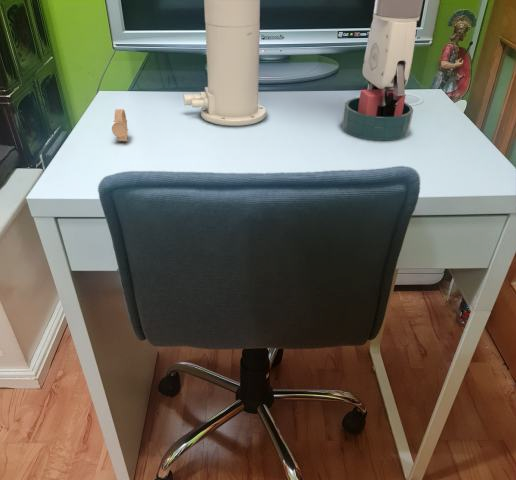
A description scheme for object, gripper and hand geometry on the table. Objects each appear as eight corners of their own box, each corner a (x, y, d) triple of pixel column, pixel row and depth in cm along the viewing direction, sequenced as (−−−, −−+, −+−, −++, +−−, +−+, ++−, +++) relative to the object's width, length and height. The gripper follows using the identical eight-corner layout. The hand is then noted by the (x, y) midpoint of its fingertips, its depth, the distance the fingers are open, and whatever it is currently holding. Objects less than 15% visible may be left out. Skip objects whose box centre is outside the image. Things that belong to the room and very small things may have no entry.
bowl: (355, 142, 90) (358, 119, 87) (333, 119, 99) (336, 97, 96) (419, 139, 92) (424, 115, 89) (392, 116, 101) (396, 95, 98)
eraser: (363, 130, 93) (368, 96, 89) (356, 122, 96) (360, 89, 92) (399, 128, 94) (405, 94, 90) (390, 121, 97) (396, 88, 93)
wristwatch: (114, 145, 86) (109, 114, 83) (117, 135, 90) (113, 105, 86) (130, 145, 86) (125, 114, 83) (133, 135, 90) (129, 105, 87)
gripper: (357, -1, 88) (343, 111, 100) (397, 17, 76) (375, 141, 88) (398, -1, 89) (379, 109, 101) (443, 16, 77) (415, 139, 89)
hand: (377, 123), depth 95 cm, fingers closed on eraser, 4 cm apart
